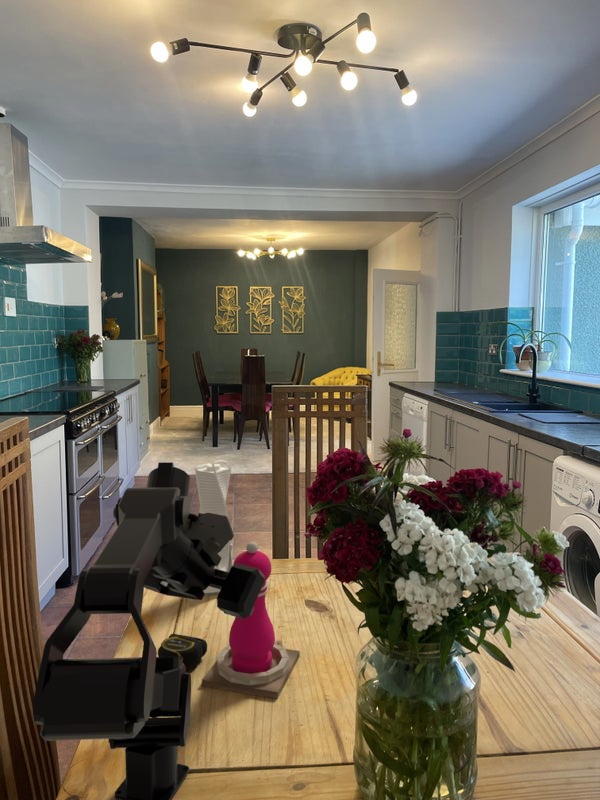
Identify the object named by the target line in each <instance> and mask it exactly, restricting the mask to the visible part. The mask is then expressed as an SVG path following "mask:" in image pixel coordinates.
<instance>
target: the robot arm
mask: <svg viewBox="0 0 600 800" xmlns="http://www.w3.org/2000/svg"><path fill="white" fill-rule="evenodd" d="M190 485H191V476H190V475H189V474H188V473H187V472H186V471H185V470H183V469H181V468H178V467H175V465H174V462H169V461H167V462H165V461H164V462H160V461H159V462H158V464H157V467H156V468H154V469H153V470H151V471H150V472H149V473H148V476H147V480H146V487H127V488H126V489H125V490H124V492H123V494H122V496H121V497H119V498H118V500H117V503H116V504H115V506H114V508H113V511H112V512H113V513H112V514H113V518H114V519H115V520H116V526H117V528H116V529H115V531H114V532H113V534H112V535H111V537H110V538H109V540H108V541H107V543H106V544H105V546H104V547H103V549H102V550H101V552H100V553H99V555H98V557H97V559H96V560H95V561H94V563H93V564H92V566H90V568H84V569H82V570H81V572H80V574H79V576H78V580H77V584H76V591H75V594H74V595H75V596H74V602H73V605H72V607H71V608H70V609H69V611H67V613H66V614H65V616H64V617H63V618H62V620H61V621H60V622H59V624H58V625H57V626H56V628H55V629H54V630H53V632H52V633H51V634H50V636H49V637H48V638H47V640H46V641H45V644H44V647H43V652H42V656H41V661H40V667H39V671H38V677H37V682H36V686H35V691H34V697H33V705H32V718H33V721H34V723H35V724H36V725H42V726H41V727H40V731H39V734H40V736H41V738H42V739H43V740H44V741H48V742H49V741H52V742H53V741H79V740H80V741H82V740H83V741H84V740H108V742H107V743H108V744H109V748H110V749H109V750H116V749H121V748H122V749H123V748H124V751H125V752H124V755H125V757H124V760H125V761H124V762H125V778H124V779H123V781H122V782H121V783H120V784H119V786H118V787H117V788H116V790H115V791H114V799H116V800H172V799H173V798H174V796H175V794H176V792H177V791H178V790H179V788H180V787H181V785H182V784H183V782H184V780H185V778H186V777H187V776H188V774H189V773H190V766H188V765H185V764H181V763H178V759H179V758H178V747H180V748H181V747H182V748H184V747H186V743H187V738H188V733H189V728H190V723H191V709H192V708H191V707H192V706H191V702H192V674H191V672H187V670H186V666H185V665H184V664H183V663H182V661H183V657H158V650H157V647H156V645H155V643H154V640H153V638H152V636H151V634H150V632H149V629H148V628H147V625H146V624H145V621H144V618H143V617H142V609H143V601H144V592H145V591H144V589H147V590H150V591H153V592H156V593H158V594H161V595H163V596H164V595H165V596H169V597H175V598H182V599H189V600H195V601H196V600H198V601H202V600H203V598H204V597H205V596H204V595H205V593H204V592H203V591H204V590H205V589H206V588H207V587H208V586H210V587H213V588H217V589H220V592H219V594H217V597H216V607H217V608H218V609H219V611H222V612H223V613H224V614H225V615H227V616H232V617H234V618H235V617H238V618H242V619H245V618H247V617H248V616H249V615H252V613H253V611H254V604H255V602H256V600H257V597H258V595H259V593H260V590H261V588H262V586H263V584H264V581H265V577H264V575H263V574H262V573H261V571H260V570H259V569H258V568H254V567H250V566H246V565H242V564H236V565H234V566H232V567H231V569H230V571H229V572H226V571H222V570H218V569H214V567H215V566H218V565H219V563H220V561H221V559H222V558H221V557H220V556H219V555H218V554H217V553H219V552H220V551H221V550H222V549H223V548H224V547H225V545H226V544H227V543H228V542H229V541H230V540H231V541H233V538H234V537H235V534H234V532H233V529H232V528H233V527H232V526H231V523H230V519H229V520H228V518H229V516H228V517H226V516H223V515H218V514H213V513H205V514H202V513H197V514H196V513H191V505H192V504H191V503H192V495H190ZM110 614H111V615H112V614H113V615H115V614H120V615H121V614H131V617H132V620H133V621H134V625H135V627H136V628H137V631H138V633H139V635H140V637H141V639H142V642H143V644H142V645H143V646H142V652H141V653H142V654H141V657H139V656H138V657H137V656H136V657H105V658H103V657H101V658H100V657H98V658H64V655H65V653H66V651H68V649H69V647H70V646H71V645H72V643H73V642H74V641H75V639H76V638H77V636H79V634H80V633H81V632H82V630H83V629H84V627H85V625H87V623H88V622H89V620H90V617H91V615H110Z"/></svg>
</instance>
